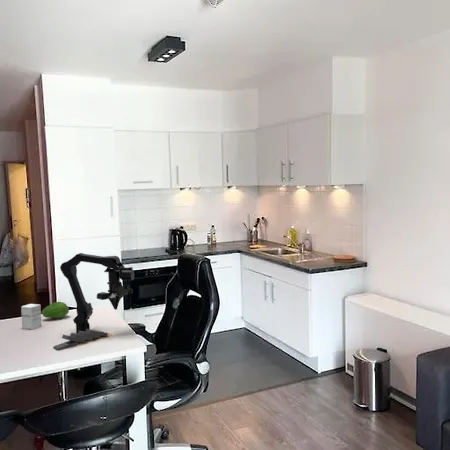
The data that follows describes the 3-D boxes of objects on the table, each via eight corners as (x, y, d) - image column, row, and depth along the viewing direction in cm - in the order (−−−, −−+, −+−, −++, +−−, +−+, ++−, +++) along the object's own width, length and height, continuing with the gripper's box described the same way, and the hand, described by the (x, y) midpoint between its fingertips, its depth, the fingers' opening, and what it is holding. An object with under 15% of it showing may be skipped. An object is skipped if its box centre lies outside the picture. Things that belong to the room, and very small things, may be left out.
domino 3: (92, 340, 232) (75, 337, 225) (86, 338, 235) (69, 335, 228) (93, 337, 232) (76, 334, 225) (87, 335, 236) (70, 332, 229)
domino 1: (77, 344, 226) (58, 351, 219) (72, 342, 229) (53, 349, 222) (77, 341, 226) (58, 348, 219) (72, 339, 229) (53, 346, 222)
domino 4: (99, 338, 235) (83, 335, 228) (94, 336, 238) (77, 333, 231) (100, 335, 235) (84, 332, 228) (95, 333, 239) (78, 330, 232)
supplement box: (21, 328, 258) (20, 306, 257) (31, 325, 265) (30, 303, 264) (32, 329, 255) (30, 307, 254) (42, 326, 262) (40, 304, 261)
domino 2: (84, 342, 229) (67, 339, 222) (79, 340, 232) (61, 337, 225) (85, 339, 229) (68, 336, 222) (80, 337, 232) (62, 334, 225)
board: (77, 347, 224) (77, 346, 224) (67, 344, 230) (67, 342, 230) (115, 336, 240) (115, 335, 240) (106, 333, 246) (106, 332, 246)
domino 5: (107, 336, 238) (90, 333, 231) (101, 334, 242) (85, 331, 235) (108, 333, 238) (91, 330, 231) (102, 331, 242) (86, 328, 235)
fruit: (44, 322, 269) (43, 305, 268) (41, 318, 277) (40, 302, 276) (70, 318, 276) (69, 302, 276) (67, 314, 285) (66, 298, 284)
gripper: (107, 285, 231) (109, 315, 232) (138, 279, 244) (139, 308, 246) (95, 282, 238) (96, 312, 240) (125, 276, 252) (126, 305, 253)
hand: (115, 309), depth 244 cm, fingers closed
